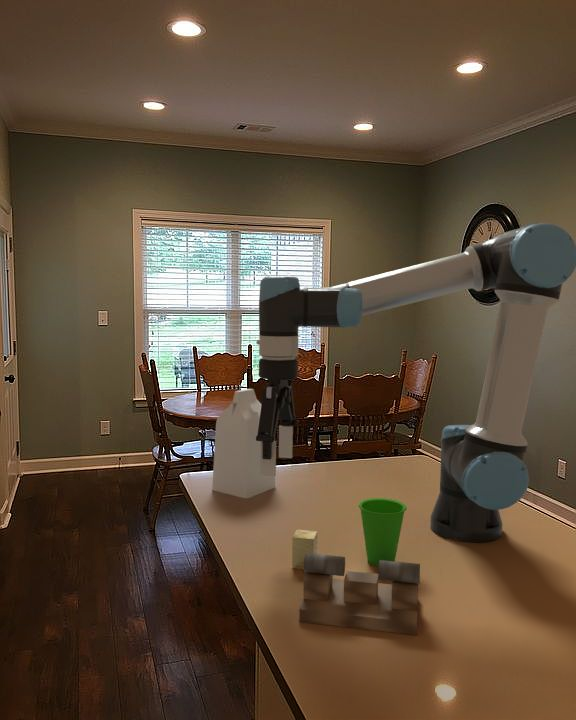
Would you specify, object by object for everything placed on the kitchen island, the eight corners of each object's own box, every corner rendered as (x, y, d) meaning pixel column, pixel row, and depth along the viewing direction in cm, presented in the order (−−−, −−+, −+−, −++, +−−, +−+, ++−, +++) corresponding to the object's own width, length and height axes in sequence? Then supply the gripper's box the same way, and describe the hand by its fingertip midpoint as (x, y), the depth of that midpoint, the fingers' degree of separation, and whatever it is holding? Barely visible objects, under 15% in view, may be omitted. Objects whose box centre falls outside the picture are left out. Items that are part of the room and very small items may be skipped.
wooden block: (316, 561, 123) (317, 531, 122) (313, 570, 119) (313, 539, 119) (296, 559, 124) (296, 529, 123) (292, 568, 120) (292, 537, 119)
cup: (393, 575, 117) (395, 516, 116) (349, 563, 122) (350, 507, 121) (412, 558, 125) (413, 503, 124) (369, 548, 130) (370, 495, 129)
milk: (241, 479, 176) (242, 385, 174) (275, 487, 170) (276, 389, 167) (212, 490, 167) (212, 390, 164) (246, 498, 160) (246, 395, 157)
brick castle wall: (418, 598, 108) (420, 550, 108) (417, 635, 97) (419, 581, 96) (311, 587, 112) (311, 540, 111) (297, 621, 100) (298, 569, 100)
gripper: (275, 351, 136) (274, 449, 138) (239, 363, 112) (239, 482, 114) (310, 352, 134) (309, 452, 137) (281, 365, 110) (280, 485, 113)
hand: (277, 466), depth 125 cm, fingers open, 13 cm apart
